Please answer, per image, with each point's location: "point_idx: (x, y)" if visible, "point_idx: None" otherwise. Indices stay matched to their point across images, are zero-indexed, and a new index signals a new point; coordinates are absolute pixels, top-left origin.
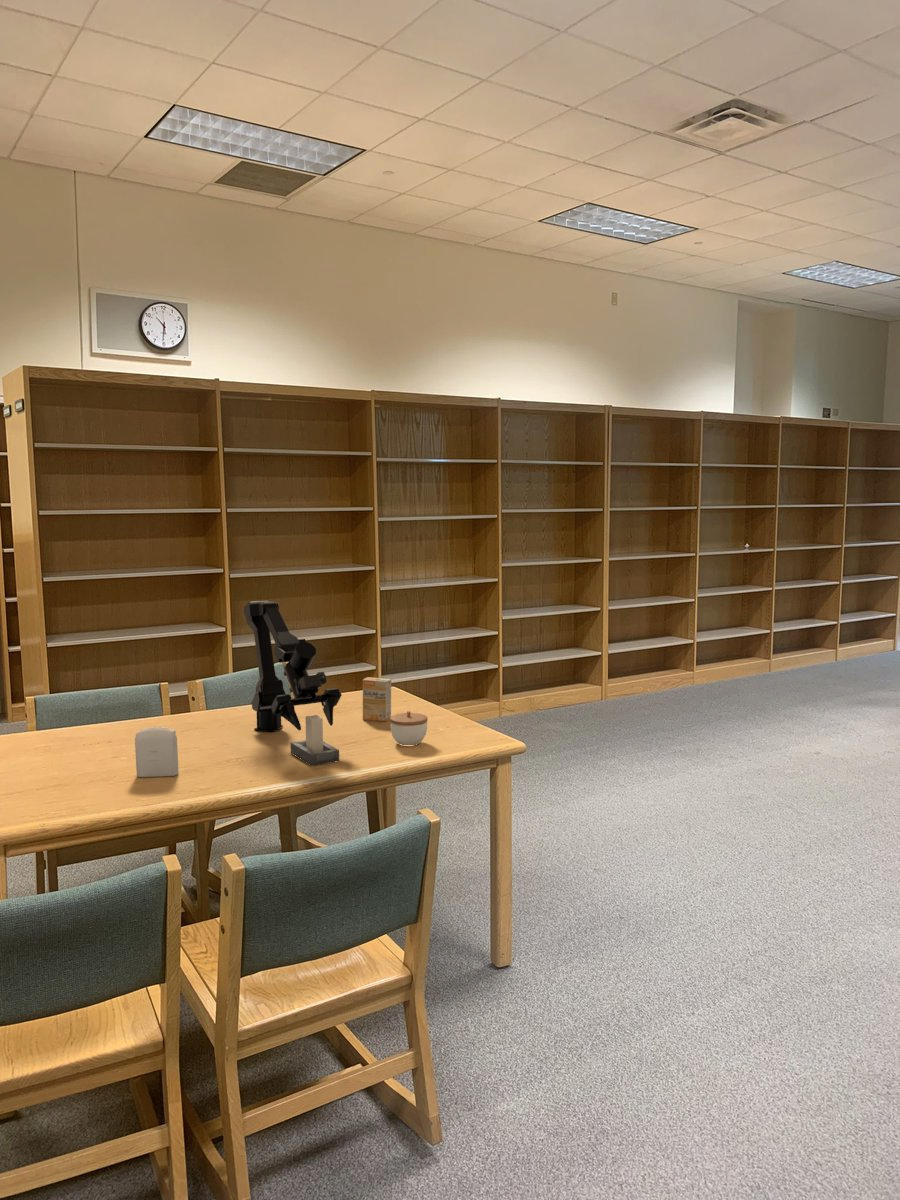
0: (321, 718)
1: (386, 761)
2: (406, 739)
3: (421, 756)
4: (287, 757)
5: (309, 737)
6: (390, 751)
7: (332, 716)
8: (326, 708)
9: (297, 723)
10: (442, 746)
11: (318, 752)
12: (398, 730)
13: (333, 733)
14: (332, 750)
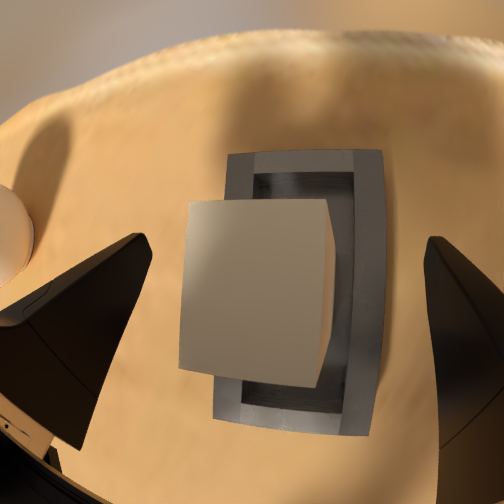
0: (203, 201)
1: (130, 108)
2: (19, 200)
3: (60, 123)
4: (412, 359)
5: (332, 281)
6: (70, 198)
7: (89, 259)
8: (53, 373)
9: (469, 260)
10: (6, 180)
11: (334, 166)
12: (3, 207)
13: (114, 488)
14: (256, 164)
